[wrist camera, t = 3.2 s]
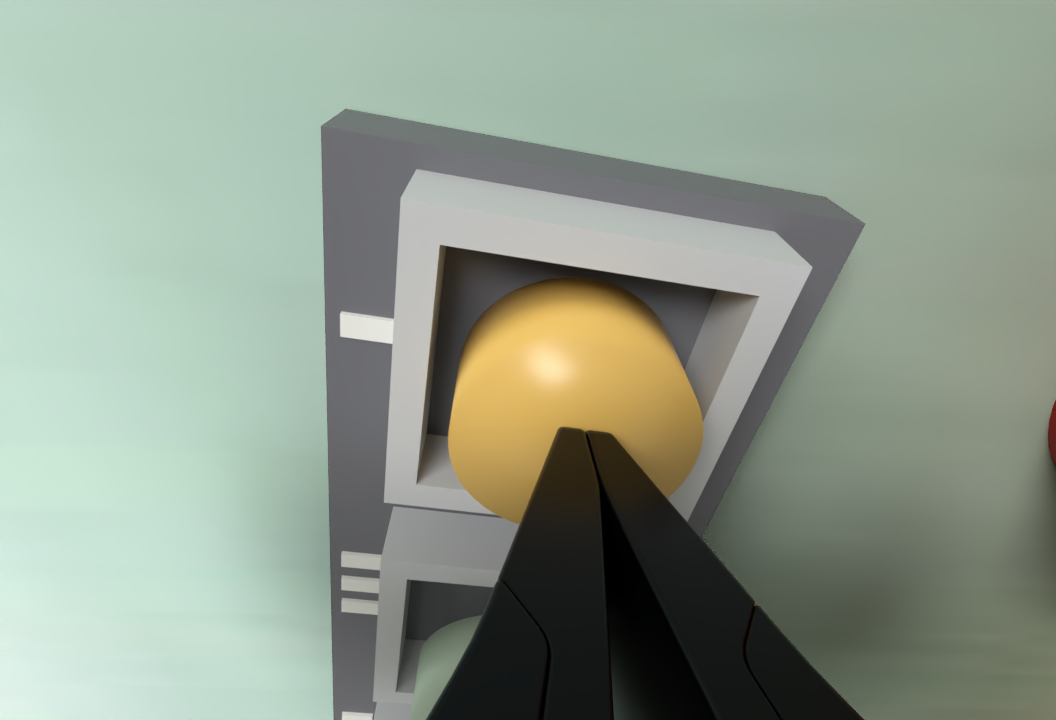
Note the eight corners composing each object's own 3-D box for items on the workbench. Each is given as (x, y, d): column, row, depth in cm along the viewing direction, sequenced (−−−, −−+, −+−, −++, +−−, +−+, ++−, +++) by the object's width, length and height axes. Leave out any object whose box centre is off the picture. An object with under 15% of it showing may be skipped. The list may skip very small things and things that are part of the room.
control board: (570, 738, 23) (576, 828, 21) (344, 723, 22) (323, 816, 20) (825, 197, 11) (916, 258, 8) (345, 108, 10) (288, 149, 7)
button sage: (562, 706, 15) (568, 794, 14) (413, 696, 15) (400, 785, 13) (598, 621, 13) (610, 714, 11) (426, 606, 13) (412, 700, 11)
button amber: (638, 464, 12) (659, 542, 10) (448, 441, 11) (437, 519, 10) (703, 296, 10) (743, 360, 8) (473, 259, 9) (463, 319, 8)
